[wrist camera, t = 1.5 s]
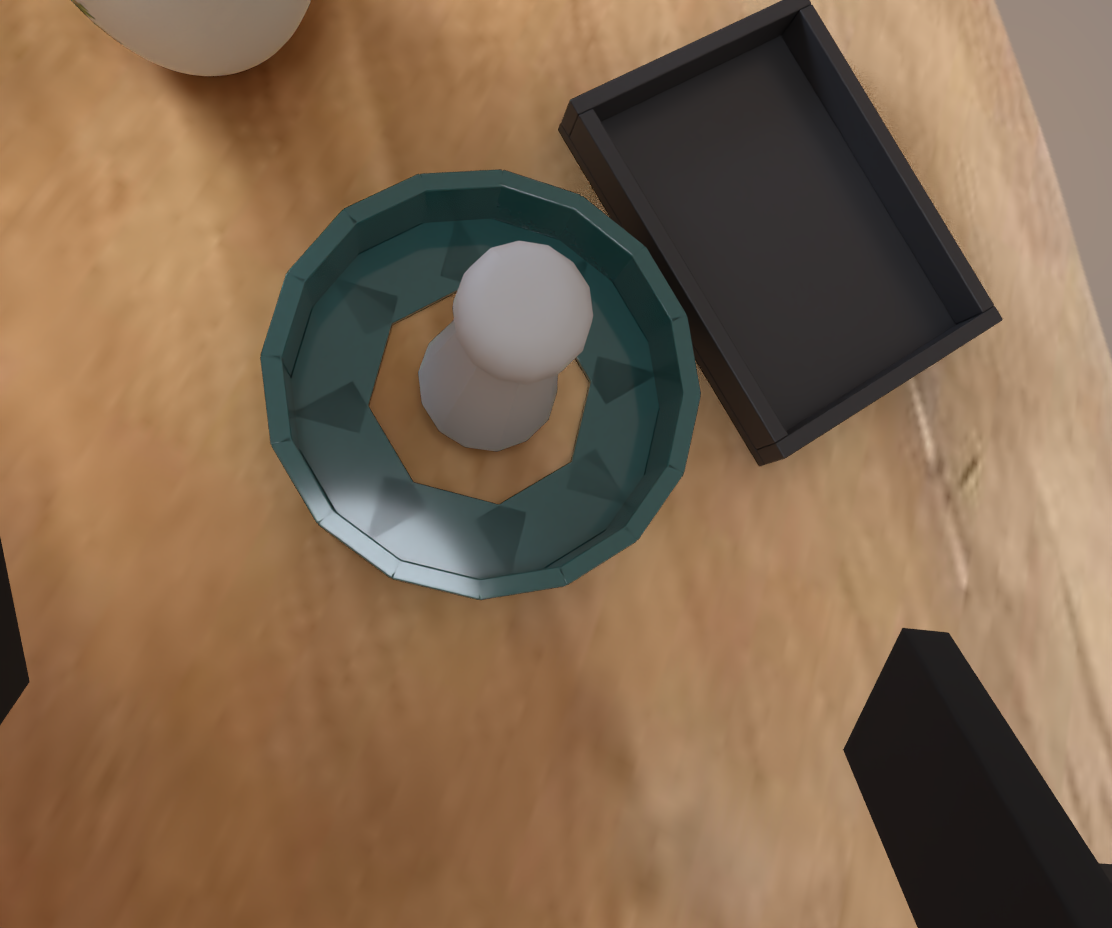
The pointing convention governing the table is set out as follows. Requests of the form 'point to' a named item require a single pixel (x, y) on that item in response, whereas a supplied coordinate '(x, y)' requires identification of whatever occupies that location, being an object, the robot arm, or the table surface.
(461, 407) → the salt shaker
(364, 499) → the teal ring
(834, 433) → the table surface
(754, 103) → the tray
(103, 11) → the pitcher
